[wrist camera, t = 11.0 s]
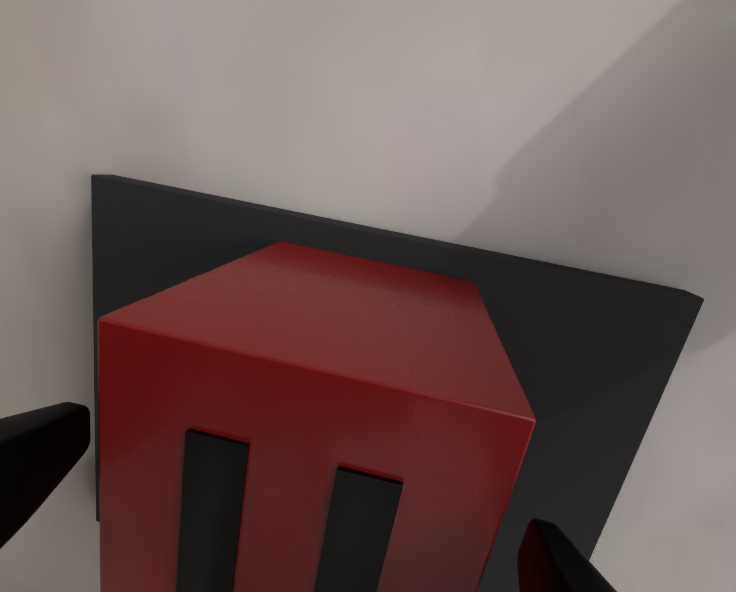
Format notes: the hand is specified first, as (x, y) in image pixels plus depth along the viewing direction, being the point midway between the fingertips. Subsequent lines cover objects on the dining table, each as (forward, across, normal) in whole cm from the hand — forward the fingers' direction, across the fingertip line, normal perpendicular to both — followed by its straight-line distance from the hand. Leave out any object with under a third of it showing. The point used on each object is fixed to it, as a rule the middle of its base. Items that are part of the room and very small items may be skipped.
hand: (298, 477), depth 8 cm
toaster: (+7, 0, +3) cm, 7 cm away
